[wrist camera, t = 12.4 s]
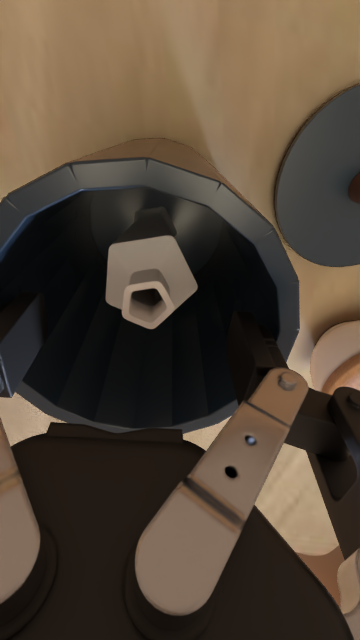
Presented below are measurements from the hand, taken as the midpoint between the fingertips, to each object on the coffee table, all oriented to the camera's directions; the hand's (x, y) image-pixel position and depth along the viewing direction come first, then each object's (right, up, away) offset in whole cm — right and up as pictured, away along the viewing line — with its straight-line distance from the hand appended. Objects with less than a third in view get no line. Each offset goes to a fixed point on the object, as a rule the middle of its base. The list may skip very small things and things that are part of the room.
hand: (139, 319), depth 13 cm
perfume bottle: (0, +8, +12) cm, 15 cm away
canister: (0, +8, +13) cm, 15 cm away
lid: (+16, +11, +11) cm, 22 cm away
